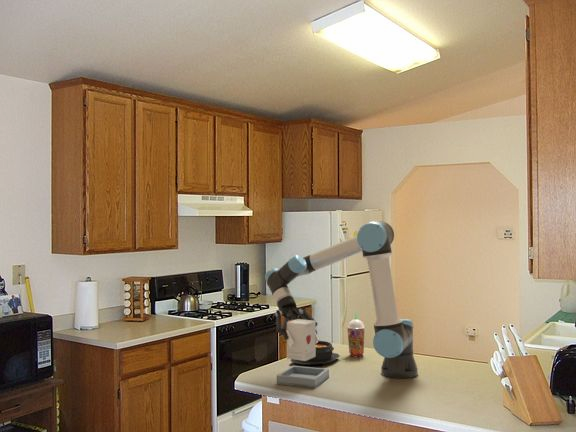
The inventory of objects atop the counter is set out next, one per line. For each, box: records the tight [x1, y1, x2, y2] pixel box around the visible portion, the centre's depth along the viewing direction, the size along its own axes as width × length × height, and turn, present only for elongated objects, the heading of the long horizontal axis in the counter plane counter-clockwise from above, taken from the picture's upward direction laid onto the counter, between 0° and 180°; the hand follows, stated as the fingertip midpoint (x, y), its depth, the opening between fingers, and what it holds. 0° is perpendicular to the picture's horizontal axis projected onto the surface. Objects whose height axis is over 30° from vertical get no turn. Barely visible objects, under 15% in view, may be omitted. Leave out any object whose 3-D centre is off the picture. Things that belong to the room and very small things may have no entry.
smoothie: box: [346, 313, 366, 358], centre depth 282 cm, size 8×8×20 cm
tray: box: [276, 365, 330, 389], centre depth 241 cm, size 16×16×4 cm
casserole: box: [290, 340, 341, 366], centre depth 271 cm, size 25×19×8 cm
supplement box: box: [286, 319, 316, 361], centre depth 242 cm, size 9×9×15 cm
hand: (305, 343), depth 239 cm, fingers closed on supplement box, 11 cm apart
